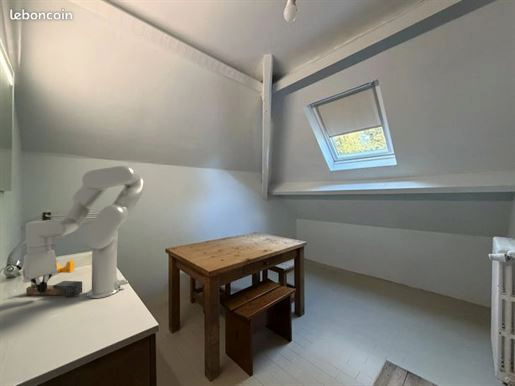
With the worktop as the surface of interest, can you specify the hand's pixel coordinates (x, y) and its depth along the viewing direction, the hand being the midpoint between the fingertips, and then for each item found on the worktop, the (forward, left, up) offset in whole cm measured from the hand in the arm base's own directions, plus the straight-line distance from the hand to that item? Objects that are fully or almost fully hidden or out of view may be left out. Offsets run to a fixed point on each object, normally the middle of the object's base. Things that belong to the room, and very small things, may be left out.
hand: (42, 291), depth 94 cm
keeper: (-9, 0, -3) cm, 9 cm away
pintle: (+4, -10, 0) cm, 11 cm away
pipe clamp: (-2, -37, -4) cm, 38 cm away
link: (-1, -6, -3) cm, 7 cm away
